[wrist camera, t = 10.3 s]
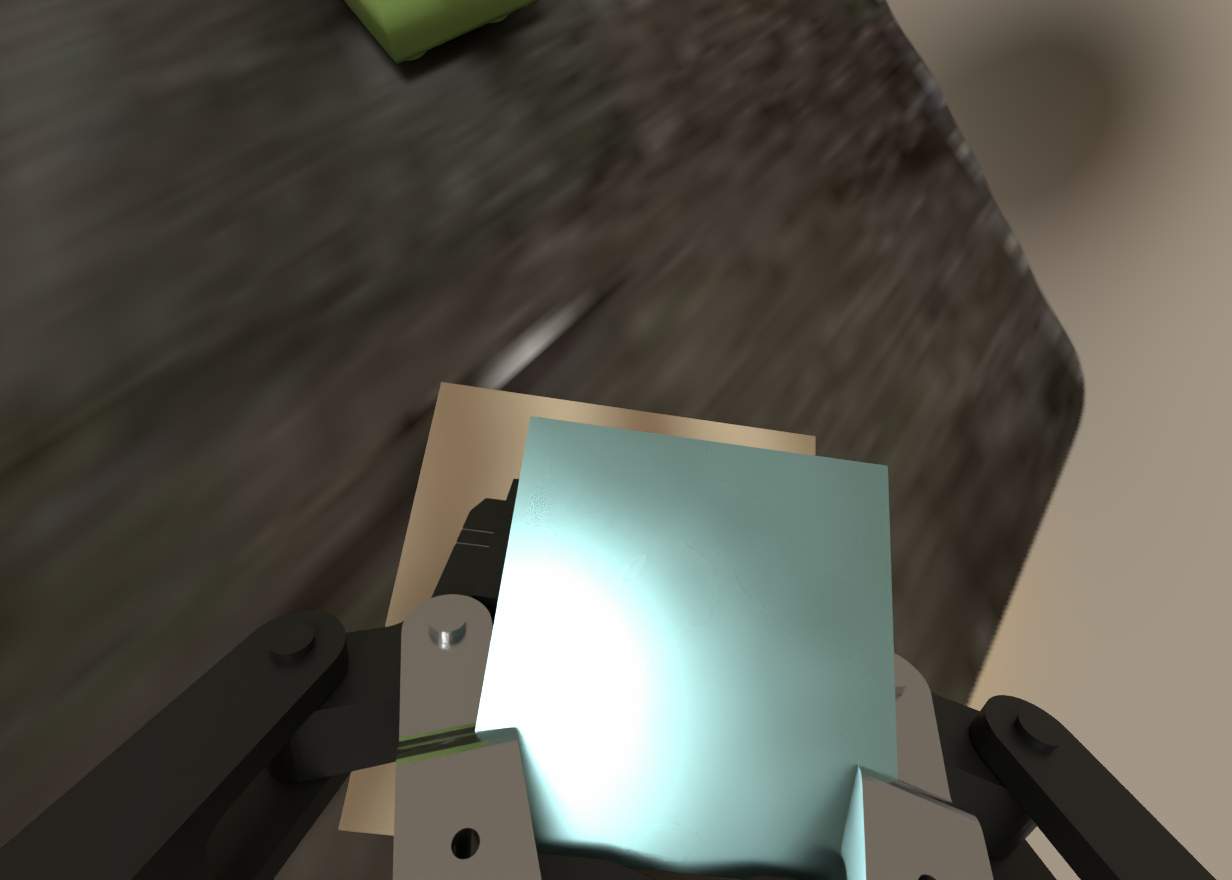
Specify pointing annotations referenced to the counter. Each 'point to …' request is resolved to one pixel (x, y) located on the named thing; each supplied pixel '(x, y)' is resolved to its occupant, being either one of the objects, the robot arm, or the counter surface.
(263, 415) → the counter surface
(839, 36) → the counter surface
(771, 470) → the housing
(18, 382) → the counter surface
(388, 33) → the kettle
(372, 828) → the stand
